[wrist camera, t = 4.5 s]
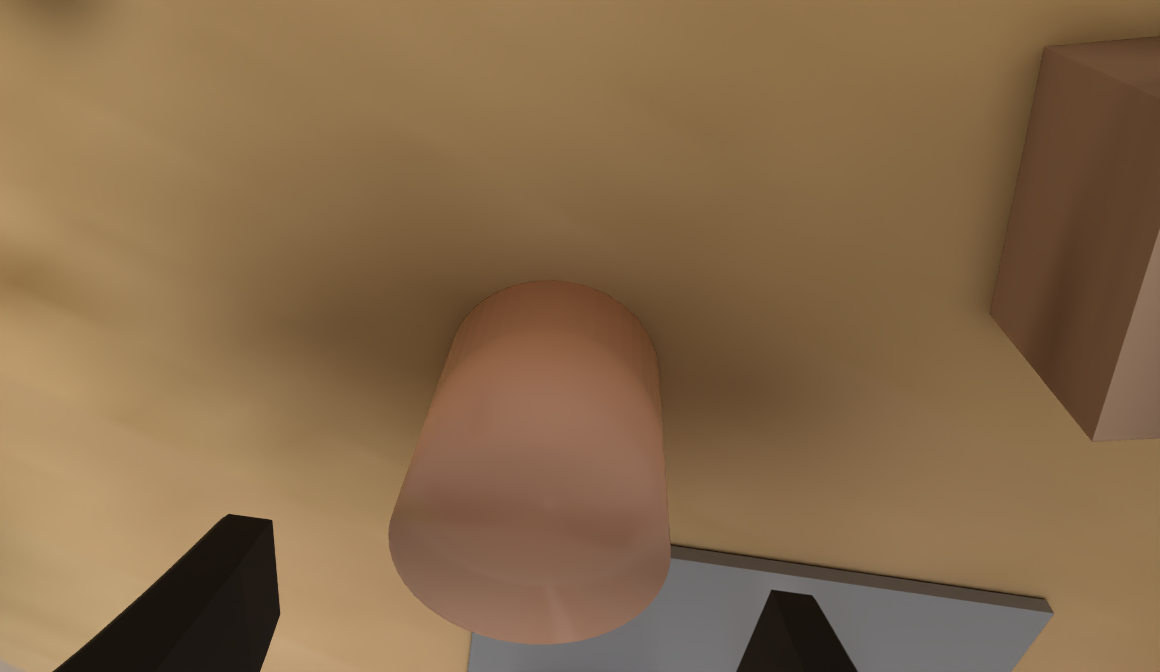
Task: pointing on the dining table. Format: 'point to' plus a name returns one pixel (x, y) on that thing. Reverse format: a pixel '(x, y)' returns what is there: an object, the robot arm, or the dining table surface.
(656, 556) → the rounded peach cylinder
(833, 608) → the slate board
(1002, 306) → the walnut block
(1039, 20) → the dining table surface
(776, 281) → the dining table surface
